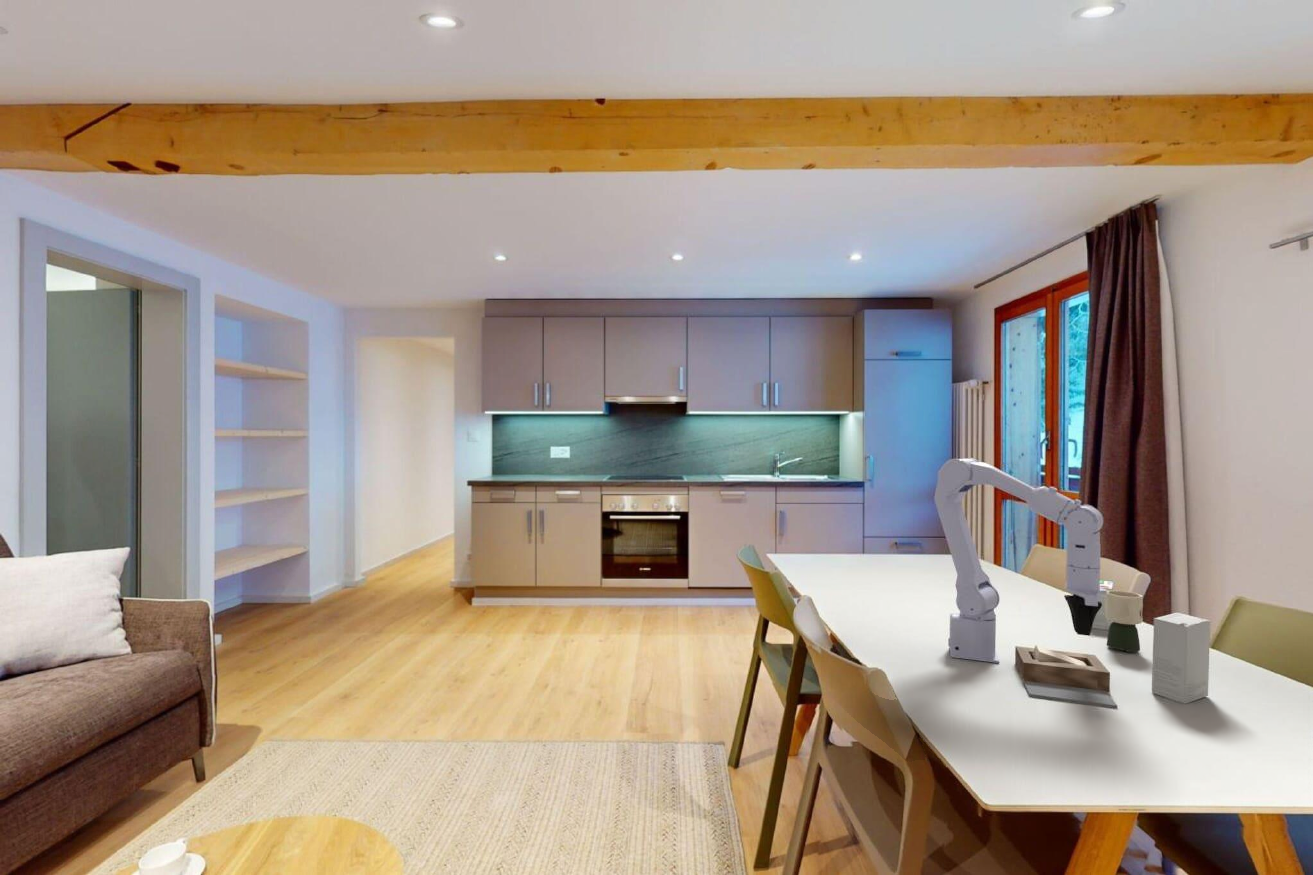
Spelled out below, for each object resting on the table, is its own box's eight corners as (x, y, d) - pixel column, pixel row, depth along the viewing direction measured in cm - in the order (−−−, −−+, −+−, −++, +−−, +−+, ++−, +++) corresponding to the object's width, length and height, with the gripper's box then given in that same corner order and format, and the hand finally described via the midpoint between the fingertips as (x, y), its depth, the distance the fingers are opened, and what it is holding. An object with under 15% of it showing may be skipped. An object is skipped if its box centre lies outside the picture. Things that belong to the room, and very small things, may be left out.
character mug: (1151, 659, 146) (1151, 600, 146) (1113, 655, 148) (1114, 597, 148) (1132, 644, 156) (1132, 589, 156) (1097, 641, 158) (1098, 587, 158)
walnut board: (1094, 673, 137) (1094, 655, 137) (1109, 692, 126) (1109, 672, 126) (1015, 663, 142) (1015, 646, 142) (1023, 681, 132) (1023, 662, 132)
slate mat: (1029, 696, 124) (1029, 693, 124) (1023, 683, 131) (1023, 680, 131) (1117, 708, 119) (1117, 705, 119) (1106, 693, 126) (1106, 691, 126)
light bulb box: (1082, 617, 180) (1083, 577, 180) (1112, 621, 176) (1113, 581, 176) (1080, 626, 171) (1080, 584, 171) (1111, 631, 167) (1112, 588, 167)
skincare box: (1174, 686, 130) (1175, 611, 130) (1210, 697, 124) (1212, 619, 124) (1149, 693, 126) (1151, 616, 126) (1186, 705, 121) (1187, 624, 121)
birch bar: (1080, 670, 135) (1083, 661, 135) (1086, 678, 131) (1089, 668, 130) (1032, 653, 138) (1035, 645, 138) (1036, 660, 134) (1039, 651, 134)
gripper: (1117, 574, 125) (1116, 646, 125) (1096, 561, 138) (1095, 626, 138) (1073, 571, 127) (1072, 641, 127) (1058, 558, 141) (1057, 622, 141)
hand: (1082, 633), depth 133 cm, fingers closed
